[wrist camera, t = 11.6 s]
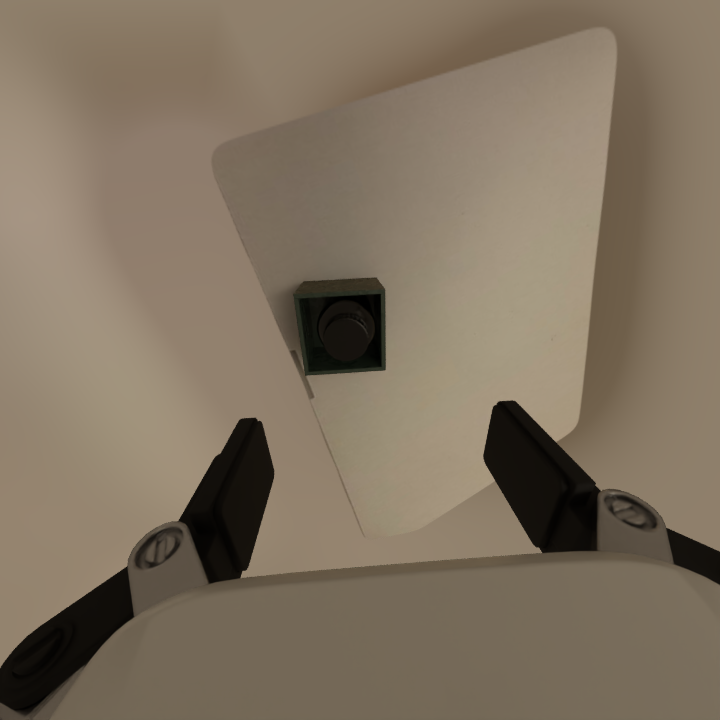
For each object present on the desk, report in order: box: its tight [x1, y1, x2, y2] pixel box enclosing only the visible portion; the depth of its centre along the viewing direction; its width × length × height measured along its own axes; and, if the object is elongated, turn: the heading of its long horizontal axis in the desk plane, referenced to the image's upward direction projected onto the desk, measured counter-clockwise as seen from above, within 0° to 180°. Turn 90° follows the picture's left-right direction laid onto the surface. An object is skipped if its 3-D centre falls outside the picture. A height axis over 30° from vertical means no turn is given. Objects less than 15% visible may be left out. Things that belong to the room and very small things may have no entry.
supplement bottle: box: [317, 295, 376, 361], centre depth 33 cm, size 7×7×12 cm
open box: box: [293, 278, 386, 376], centre depth 36 cm, size 10×10×8 cm
